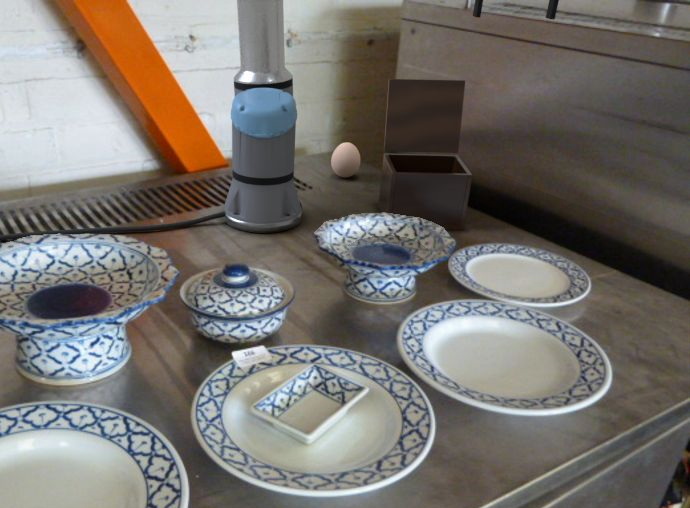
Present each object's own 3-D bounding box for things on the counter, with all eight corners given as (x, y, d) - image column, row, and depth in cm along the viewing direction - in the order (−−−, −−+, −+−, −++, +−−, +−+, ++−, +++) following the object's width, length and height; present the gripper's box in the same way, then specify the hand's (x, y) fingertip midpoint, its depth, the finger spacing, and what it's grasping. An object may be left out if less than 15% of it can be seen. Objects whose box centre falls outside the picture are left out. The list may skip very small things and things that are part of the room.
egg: (364, 176, 152) (367, 142, 148) (348, 183, 148) (350, 148, 144) (341, 170, 156) (343, 137, 152) (324, 177, 151) (326, 142, 147)
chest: (462, 230, 125) (472, 175, 120) (385, 228, 125) (392, 173, 120) (449, 206, 136) (457, 155, 131) (378, 204, 136) (383, 153, 131)
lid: (465, 80, 126) (458, 82, 131) (389, 78, 127) (385, 81, 132) (458, 152, 130) (452, 152, 135) (384, 151, 130) (380, 150, 135)
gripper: (470, -123, 109) (450, 18, 119) (623, -120, 108) (588, 21, 119) (460, -120, 115) (441, 13, 126) (604, -117, 115) (573, 17, 125)
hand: (513, 17), depth 122 cm, fingers open, 13 cm apart
